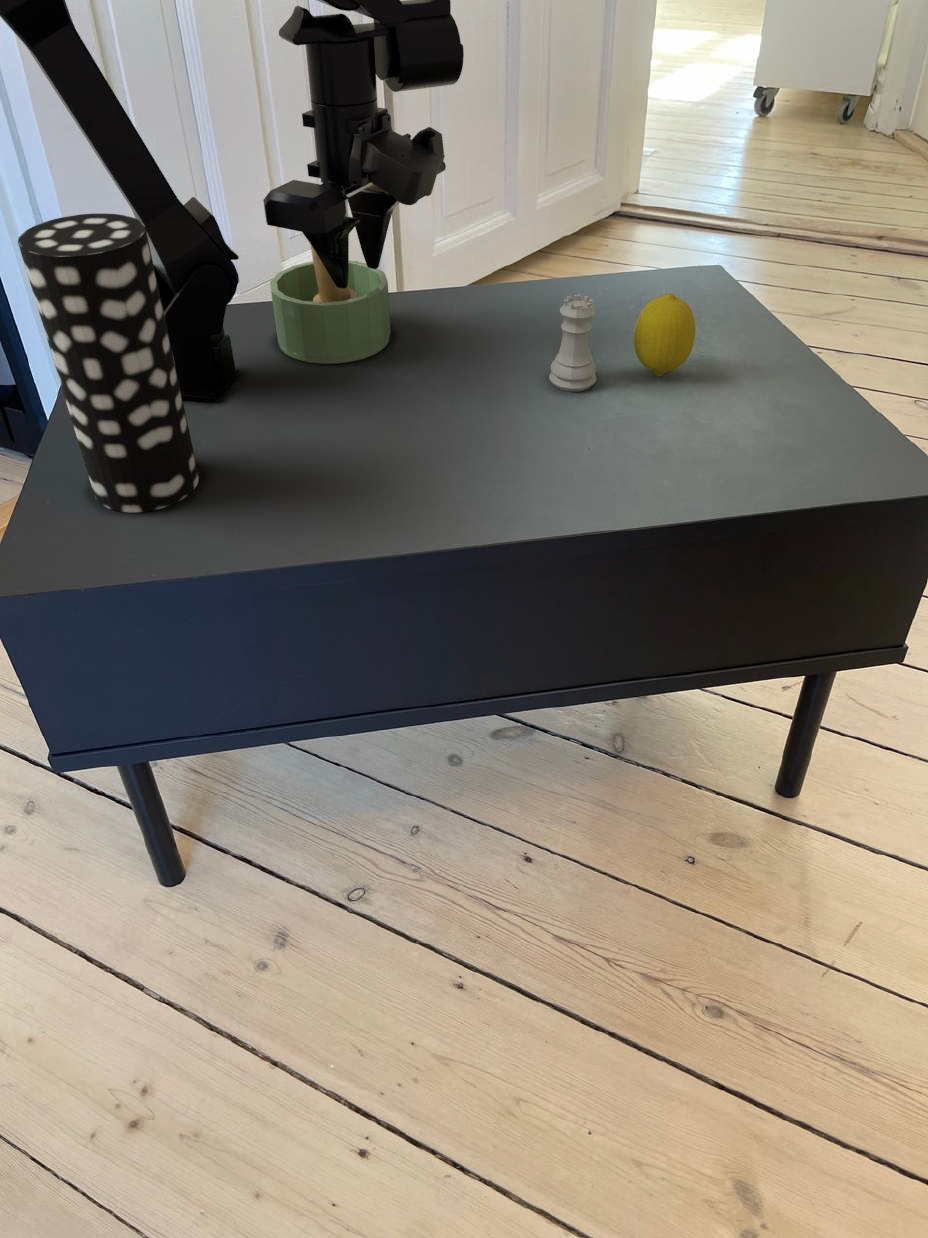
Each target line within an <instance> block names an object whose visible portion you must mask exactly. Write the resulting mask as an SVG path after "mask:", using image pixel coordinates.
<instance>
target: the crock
mask: <svg viewBox="0 0 928 1238" xmlns="http://www.w3.org/2000/svg"><path fill="white" fill-rule="evenodd" d="M348 284H349V289H351V290H354V291H355V292H356V293H357V295H358V297H357V298H353V299H349V300H345V301H336V302H313V298H314V297H315V296H316V295H317V294H319V290H318V285H317V279H316V274H315V268H314V263H313V260H312V261H308V262H303V263H300V264H296V265H292V266H290V267H287V268H285V269H283V270H281V271H279V272H277V273H276V274H275V275H274V276H273V278H272V279H271V280H270V281H269V286H270V294H271V301H272V308H273V314H274V315H273V316H274V322H275V331H276V336H277V337H276V339H277V343H278V347H279V349H280V350H281V352H283V353H284V354H285V355H287V356H289V357H291V358H293V359H294V360H297V361H300V362H301V361H302V362H305V363H310V364H321V365H322V364H323V365H326V364H328V365H332V364H334V365H335V364H345V363H351V362H356V361H360V360H364V359H367V358H369V357H372V356H374V355H376V354H378V353H379V352H381V351H383V350H384V348H386V347H387V345H388V344H389V342H390V340H391V331H392V330H391V315H390V314H391V312H390V297H389V295H390V294H389V281H388V278H387V275H386V273H385V272H384V271H383V270H382V269H380V268H379V267H378V268H377V269H371V268H368V267H367V264H366V262H362V261H358V260H349V275H348Z"/></svg>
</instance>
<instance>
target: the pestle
mask: <svg viewBox="0 0 928 1238" xmlns="http://www.w3.org/2000/svg"><path fill="white" fill-rule="evenodd" d="M309 245H310V246H309V247H310V250H311V256H312V261H313V263H314V268H315V274H316V279H317V285H318V290H319V294H317V295H316V296H315V297H314V298H313V302H336V301H345V300H349V299H353V298H357V297H358V295H357V293H356V292H355V291H354V290H351V289H349V284H348V286H347V288H345V289H343V288H338V287H337V286H336V285H335V284H334V282H333V280H332V279H331V277H330V275H329V273H328V272H327V270H326V268H325V267H324V265H323V263H322V262H321V260H320V258H319V257H318V255H317V253H316V252H315V250H314V248H313V247H312V245H311V244H310V243H309Z"/></svg>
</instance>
